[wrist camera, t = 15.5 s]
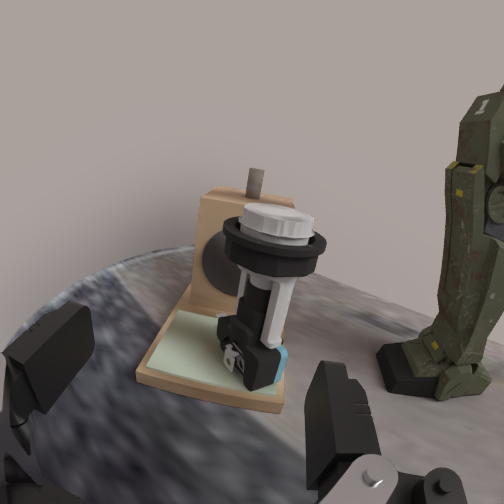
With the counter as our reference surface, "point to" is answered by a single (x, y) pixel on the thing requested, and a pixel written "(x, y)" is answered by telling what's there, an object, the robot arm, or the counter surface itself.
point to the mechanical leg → (462, 269)
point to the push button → (264, 286)
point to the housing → (209, 313)
